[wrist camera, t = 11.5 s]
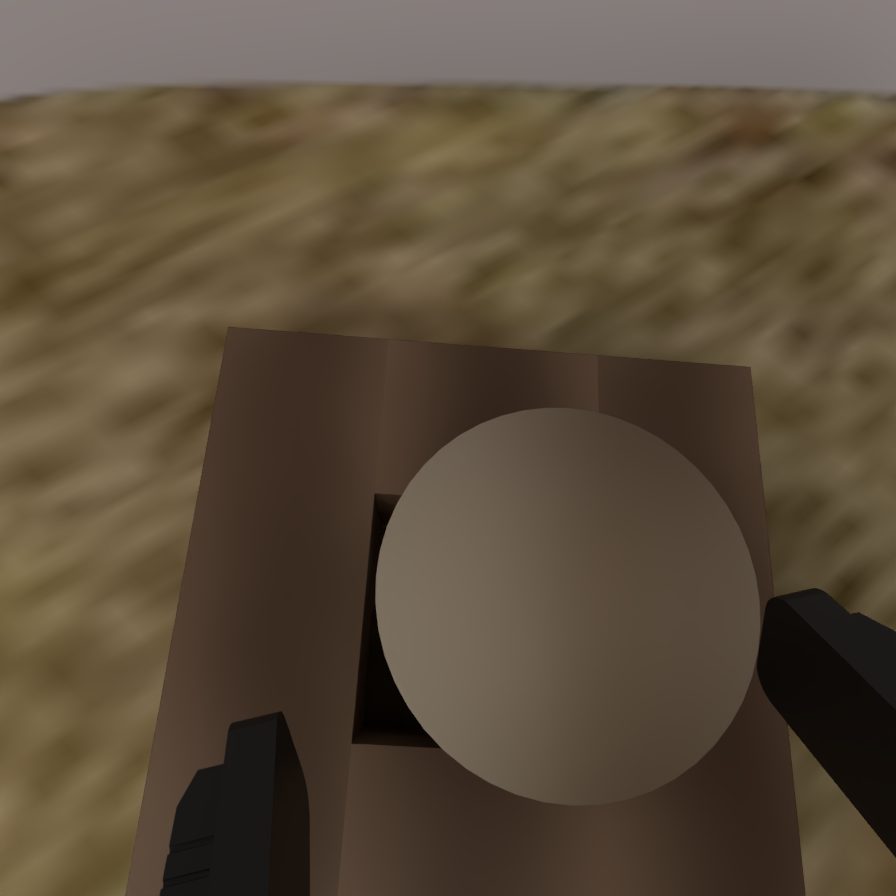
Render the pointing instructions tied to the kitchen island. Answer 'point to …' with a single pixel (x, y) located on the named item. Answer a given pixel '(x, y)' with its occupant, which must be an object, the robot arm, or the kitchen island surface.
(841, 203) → the kitchen island surface
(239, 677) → the block
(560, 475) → the peg
